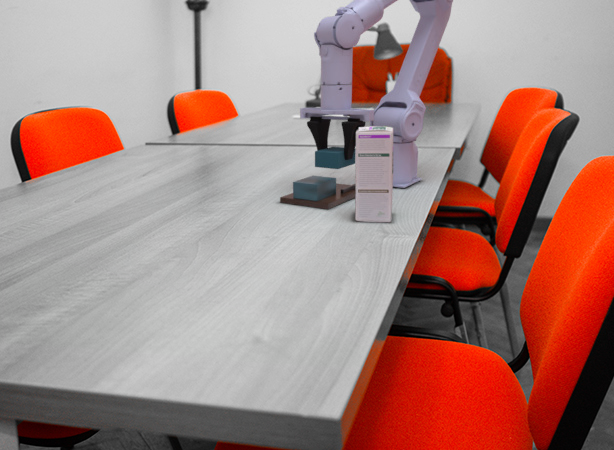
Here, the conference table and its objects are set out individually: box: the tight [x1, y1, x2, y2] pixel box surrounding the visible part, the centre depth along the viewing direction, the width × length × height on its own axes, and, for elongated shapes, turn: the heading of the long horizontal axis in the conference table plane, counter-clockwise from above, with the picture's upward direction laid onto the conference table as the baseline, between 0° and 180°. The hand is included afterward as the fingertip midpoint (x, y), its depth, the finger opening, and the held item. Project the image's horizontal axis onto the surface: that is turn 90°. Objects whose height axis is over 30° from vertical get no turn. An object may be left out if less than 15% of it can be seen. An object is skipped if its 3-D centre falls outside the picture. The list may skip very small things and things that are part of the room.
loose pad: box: [314, 146, 356, 170], centre depth 109 cm, size 7×5×3 cm
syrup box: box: [354, 125, 394, 223], centre depth 91 cm, size 6×6×14 cm
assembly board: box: [279, 175, 356, 210], centre depth 107 cm, size 16×10×4 cm, turn 145°
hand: (335, 158), depth 109 cm, fingers closed on loose pad, 5 cm apart
